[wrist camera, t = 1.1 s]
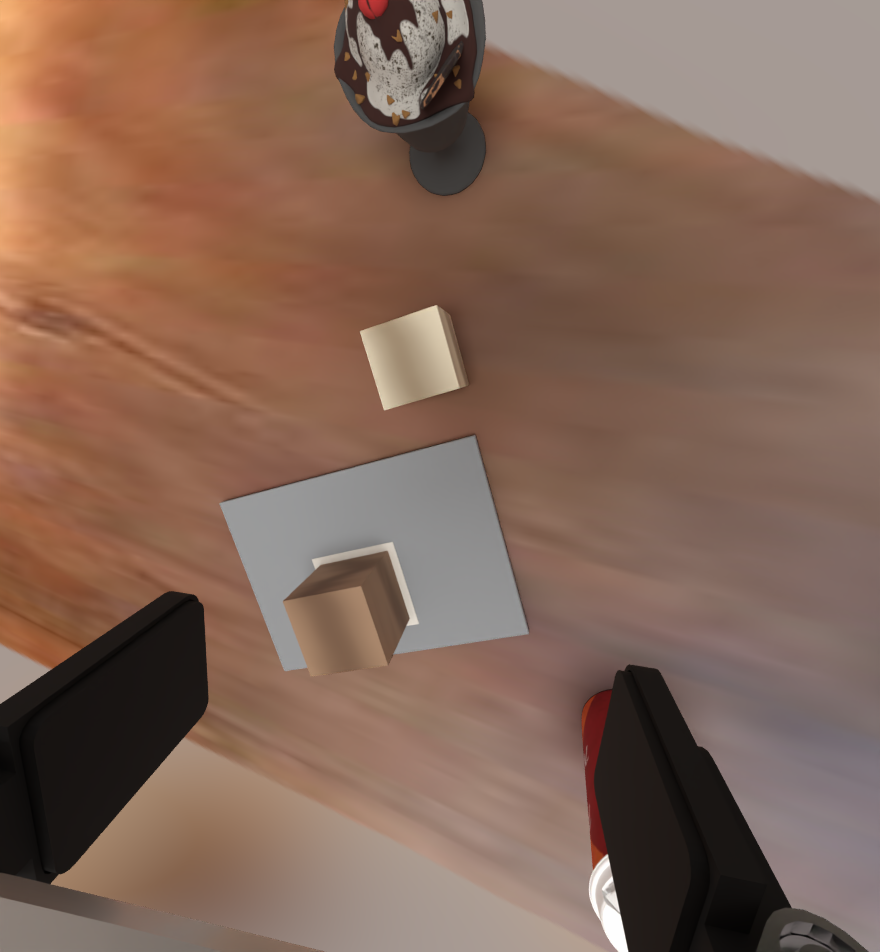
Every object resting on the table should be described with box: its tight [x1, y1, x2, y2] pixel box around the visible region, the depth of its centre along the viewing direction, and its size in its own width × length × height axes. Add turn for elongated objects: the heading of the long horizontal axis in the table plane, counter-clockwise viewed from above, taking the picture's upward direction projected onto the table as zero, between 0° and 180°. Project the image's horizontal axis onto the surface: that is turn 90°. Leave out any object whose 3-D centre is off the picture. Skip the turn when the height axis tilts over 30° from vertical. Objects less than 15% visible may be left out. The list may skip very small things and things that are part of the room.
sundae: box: [334, 0, 486, 196], centre depth 22 cm, size 7×7×15 cm
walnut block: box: [283, 551, 410, 677], centre depth 34 cm, size 6×6×6 cm
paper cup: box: [582, 690, 628, 952], centre depth 29 cm, size 8×8×14 cm
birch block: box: [360, 305, 469, 410], centre depth 30 cm, size 5×5×5 cm
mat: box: [220, 435, 529, 671], centre depth 36 cm, size 22×16×1 cm
